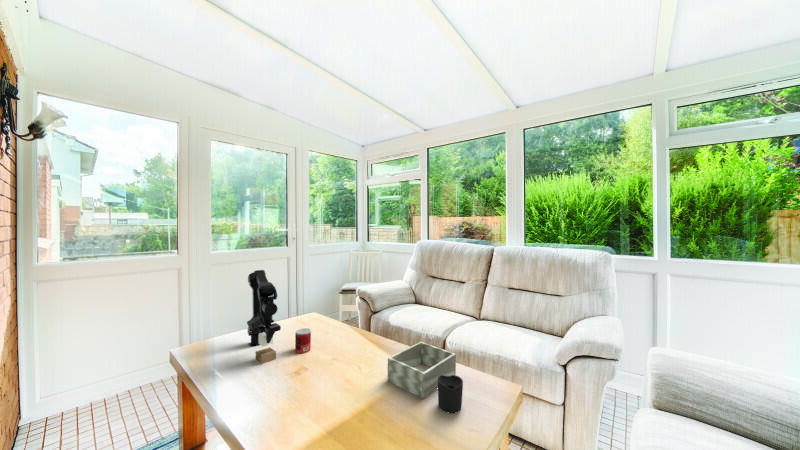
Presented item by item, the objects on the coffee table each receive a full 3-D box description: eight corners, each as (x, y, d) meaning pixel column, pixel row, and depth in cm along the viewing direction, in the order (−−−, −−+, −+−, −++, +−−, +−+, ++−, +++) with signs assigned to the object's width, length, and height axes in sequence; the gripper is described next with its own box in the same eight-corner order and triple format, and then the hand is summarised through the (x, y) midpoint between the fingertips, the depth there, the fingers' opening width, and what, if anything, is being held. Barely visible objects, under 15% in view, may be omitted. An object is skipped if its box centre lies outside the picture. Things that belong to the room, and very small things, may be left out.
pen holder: (445, 396, 118) (445, 371, 118) (466, 405, 112) (467, 379, 112) (432, 407, 111) (433, 380, 111) (454, 418, 105) (455, 390, 105)
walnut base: (255, 359, 145) (255, 351, 145) (269, 355, 151) (269, 347, 151) (261, 364, 141) (261, 356, 141) (275, 359, 146) (276, 351, 146)
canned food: (312, 348, 160) (313, 328, 160) (306, 355, 152) (307, 334, 152) (299, 347, 161) (299, 327, 161) (292, 354, 153) (292, 333, 153)
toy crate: (387, 380, 129) (387, 357, 129) (420, 361, 147) (420, 341, 147) (423, 399, 116) (424, 373, 116) (455, 375, 134) (455, 353, 134)
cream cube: (258, 343, 145) (258, 333, 145) (268, 340, 149) (268, 330, 149) (262, 346, 142) (263, 336, 142) (273, 343, 146) (273, 333, 146)
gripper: (241, 309, 146) (241, 341, 146) (257, 318, 133) (257, 352, 133) (264, 305, 154) (263, 334, 154) (281, 313, 142) (280, 345, 142)
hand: (265, 341), depth 146 cm, fingers closed on cream cube, 5 cm apart
